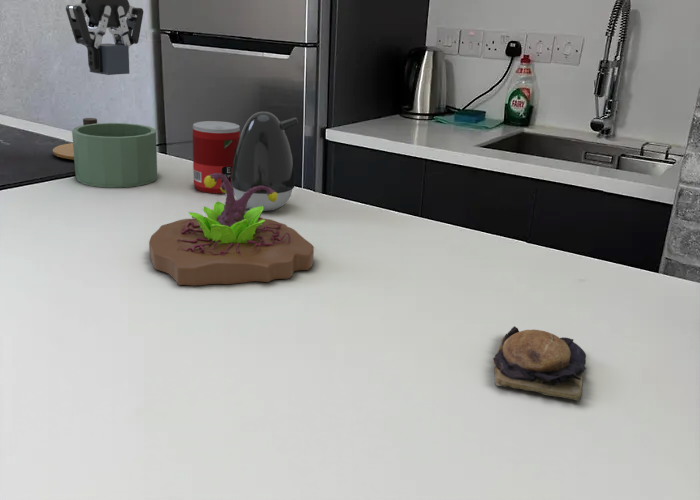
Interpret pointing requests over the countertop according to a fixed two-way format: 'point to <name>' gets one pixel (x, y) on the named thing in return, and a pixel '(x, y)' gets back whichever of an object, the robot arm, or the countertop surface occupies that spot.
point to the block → (114, 59)
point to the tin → (115, 154)
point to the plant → (229, 243)
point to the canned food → (213, 152)
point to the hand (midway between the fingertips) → (109, 70)
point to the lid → (67, 149)
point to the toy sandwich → (540, 363)
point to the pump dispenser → (264, 161)
